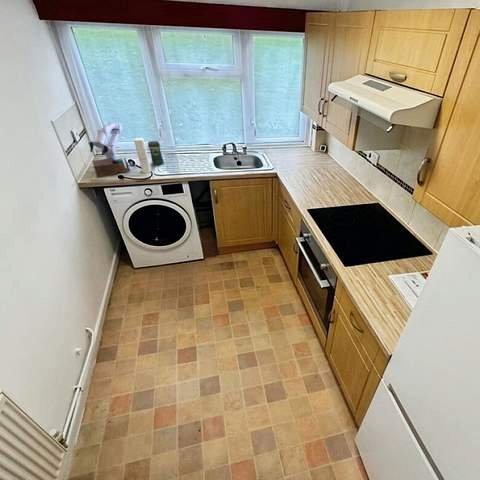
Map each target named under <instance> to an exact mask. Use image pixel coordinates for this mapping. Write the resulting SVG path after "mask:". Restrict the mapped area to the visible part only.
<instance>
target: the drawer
mask: <svg viewBox="0 0 480 480" xmlns="http://www.w3.org/2000/svg"><path fill="white" fill-rule="evenodd" d="M116 161H117V160H116ZM112 163H113V166H114V169H115V172H116V174H117V173H124V172H131V170H130V166H134V163H133V161H129V162H128V161H127V159H126V157H123V163H122V164H117V162H115V161H113V160H112Z"/></svg>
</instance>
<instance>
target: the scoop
mask: <svg viewBox="0 0 480 480" xmlns="http://www.w3.org/2000/svg"><path fill="white" fill-rule="evenodd" d="M110 159H112V160H113V161H115V162H117V164H122V163H124V159H123V158H119V159H118V160H117V161H116V160H115V159H113V158H111V157H110Z"/></svg>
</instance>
